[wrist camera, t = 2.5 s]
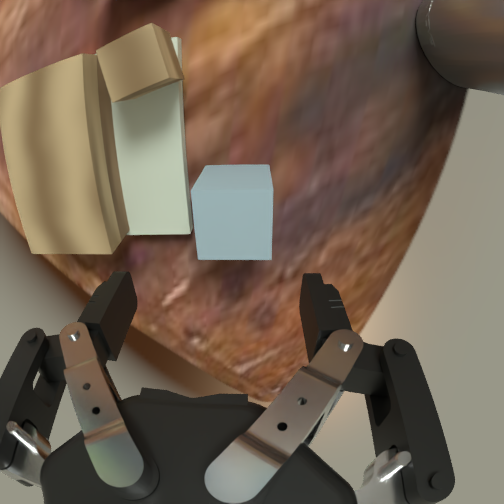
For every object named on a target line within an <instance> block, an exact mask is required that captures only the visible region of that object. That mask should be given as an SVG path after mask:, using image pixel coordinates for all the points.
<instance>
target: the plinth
mask: <svg viewBox="0 0 504 504" xmlns="http://www.w3.org/2000/svg"><path fill="white" fill-rule="evenodd" d="M0 126H1V133H2V140H3V147H4V152H5V158H6V163H7V168H8V173H9V177H10V182H11V186H12V190H13V194H14V198H15V202H16V205H17V209H18V212H19V216H20V219H21V222H22V226H23V229H24V232H25V235H26V238H27V241H28V244H29V246H30V249H31V252H32V254H113V252H114V251H115V249H116V248H117V247H118V245H119V244H120V243H121V241H122V240H123V238H124V237H125V236H126V234H127V233H128V232H129V230H130V228H129V224H128V219H127V214H126V208H125V203H124V197H123V192H122V186H121V180H120V173H119V167H118V160H117V152H116V144H115V136H114V127H113V117H112V105H111V98H110V95H109V92H108V89H107V86H106V82H105V79H104V76H103V73H102V70H101V66H100V63H99V60H98V56H97V55H93V54H80V55H77V56H74V57H71V58H68V59H65V60H62V61H60V62H57V63H54V64H52V65H49V66H47V67H44V68H42V69H39V70H37V71H35V72H32V73H30V74H28V75H26V76H23V77H21V78H19V79H17V80H15V81H13V82H11V83H9V84H7V85H5V86H3V87H1V88H0Z"/></svg>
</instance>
